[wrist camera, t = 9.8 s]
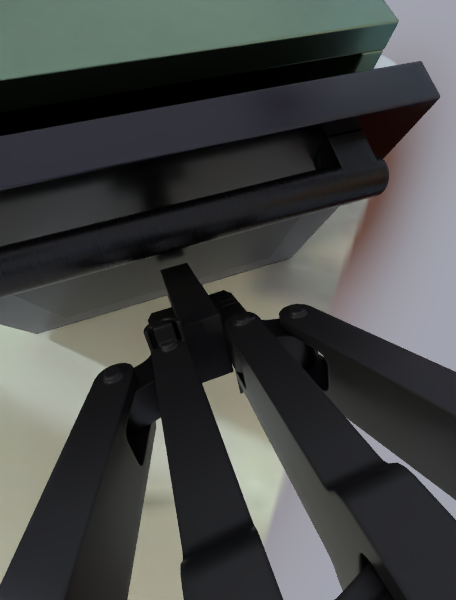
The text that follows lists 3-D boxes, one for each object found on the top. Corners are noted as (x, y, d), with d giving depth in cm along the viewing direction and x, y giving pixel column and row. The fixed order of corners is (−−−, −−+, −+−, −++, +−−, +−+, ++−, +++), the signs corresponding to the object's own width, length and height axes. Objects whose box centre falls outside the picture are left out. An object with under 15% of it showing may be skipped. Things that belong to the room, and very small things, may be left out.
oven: (282, 239, 26) (400, 20, 11) (32, 310, 23) (-297, 122, 7) (219, 99, 31) (244, -196, 16) (-1, 139, 27) (-255, -204, 12)
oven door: (301, 282, 26) (471, 151, 10) (43, 364, 22) (-286, 346, 6) (284, 240, 26) (421, 59, 11) (31, 312, 22) (-296, 187, 7)
